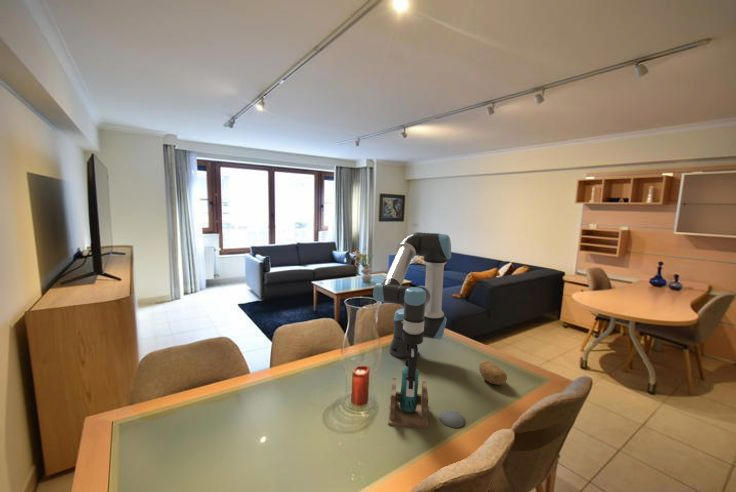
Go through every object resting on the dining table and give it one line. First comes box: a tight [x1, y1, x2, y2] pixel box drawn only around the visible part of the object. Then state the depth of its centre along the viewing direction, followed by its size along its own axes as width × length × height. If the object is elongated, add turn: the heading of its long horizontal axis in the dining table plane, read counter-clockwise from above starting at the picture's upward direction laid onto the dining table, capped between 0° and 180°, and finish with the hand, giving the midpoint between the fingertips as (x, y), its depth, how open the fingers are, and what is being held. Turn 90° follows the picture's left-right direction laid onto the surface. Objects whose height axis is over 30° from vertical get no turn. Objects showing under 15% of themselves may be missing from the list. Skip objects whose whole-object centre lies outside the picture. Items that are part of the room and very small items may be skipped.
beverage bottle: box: [400, 358, 420, 412], centre depth 119 cm, size 6×7×20 cm
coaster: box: [438, 409, 466, 429], centre depth 117 cm, size 9×9×1 cm
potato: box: [478, 359, 508, 386], centre depth 144 cm, size 10×14×8 cm
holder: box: [387, 377, 429, 430], centre depth 119 cm, size 16×14×10 cm
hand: (409, 385), depth 119 cm, fingers open, 13 cm apart
